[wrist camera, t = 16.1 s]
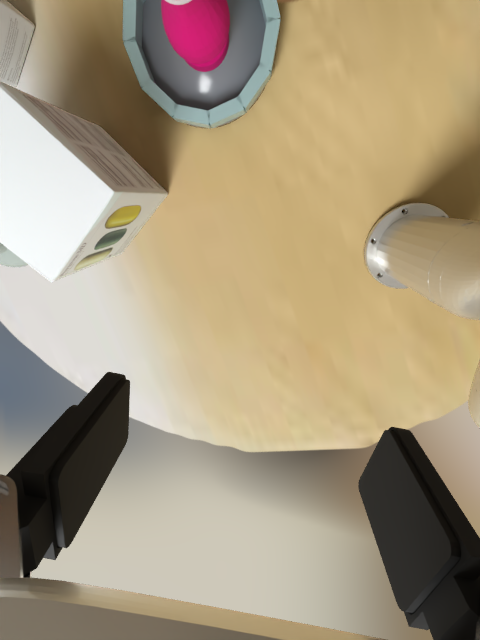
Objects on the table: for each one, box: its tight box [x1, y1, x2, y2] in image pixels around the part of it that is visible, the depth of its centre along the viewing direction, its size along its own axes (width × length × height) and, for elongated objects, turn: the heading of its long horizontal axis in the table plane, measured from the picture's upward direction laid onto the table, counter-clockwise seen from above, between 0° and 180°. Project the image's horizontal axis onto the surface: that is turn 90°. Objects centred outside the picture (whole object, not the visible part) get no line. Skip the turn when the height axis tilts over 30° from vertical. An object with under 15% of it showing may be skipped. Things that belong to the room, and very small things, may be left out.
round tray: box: [123, 0, 281, 128], centre depth 34 cm, size 18×18×3 cm
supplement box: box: [0, 81, 168, 282], centre depth 36 cm, size 13×13×18 cm
